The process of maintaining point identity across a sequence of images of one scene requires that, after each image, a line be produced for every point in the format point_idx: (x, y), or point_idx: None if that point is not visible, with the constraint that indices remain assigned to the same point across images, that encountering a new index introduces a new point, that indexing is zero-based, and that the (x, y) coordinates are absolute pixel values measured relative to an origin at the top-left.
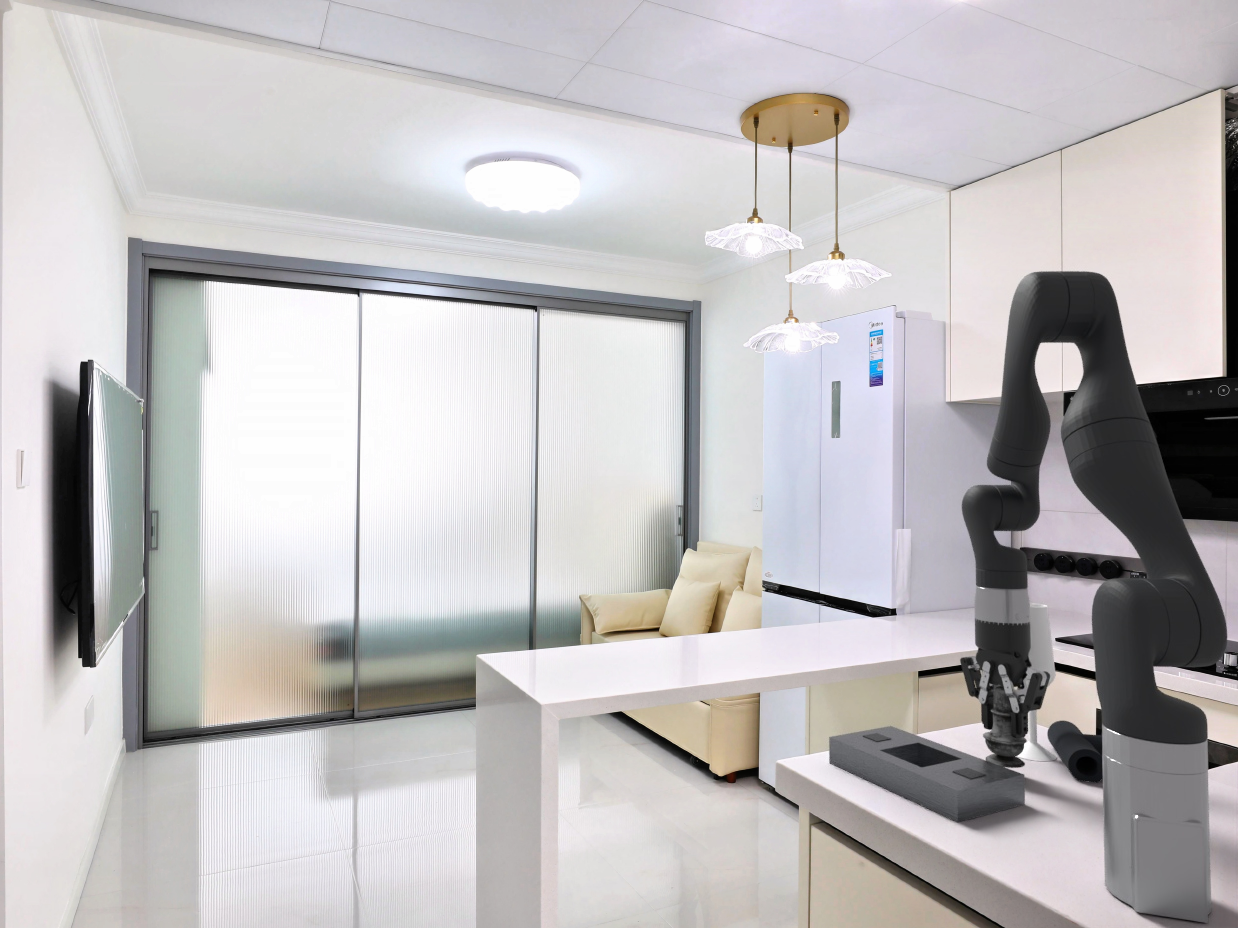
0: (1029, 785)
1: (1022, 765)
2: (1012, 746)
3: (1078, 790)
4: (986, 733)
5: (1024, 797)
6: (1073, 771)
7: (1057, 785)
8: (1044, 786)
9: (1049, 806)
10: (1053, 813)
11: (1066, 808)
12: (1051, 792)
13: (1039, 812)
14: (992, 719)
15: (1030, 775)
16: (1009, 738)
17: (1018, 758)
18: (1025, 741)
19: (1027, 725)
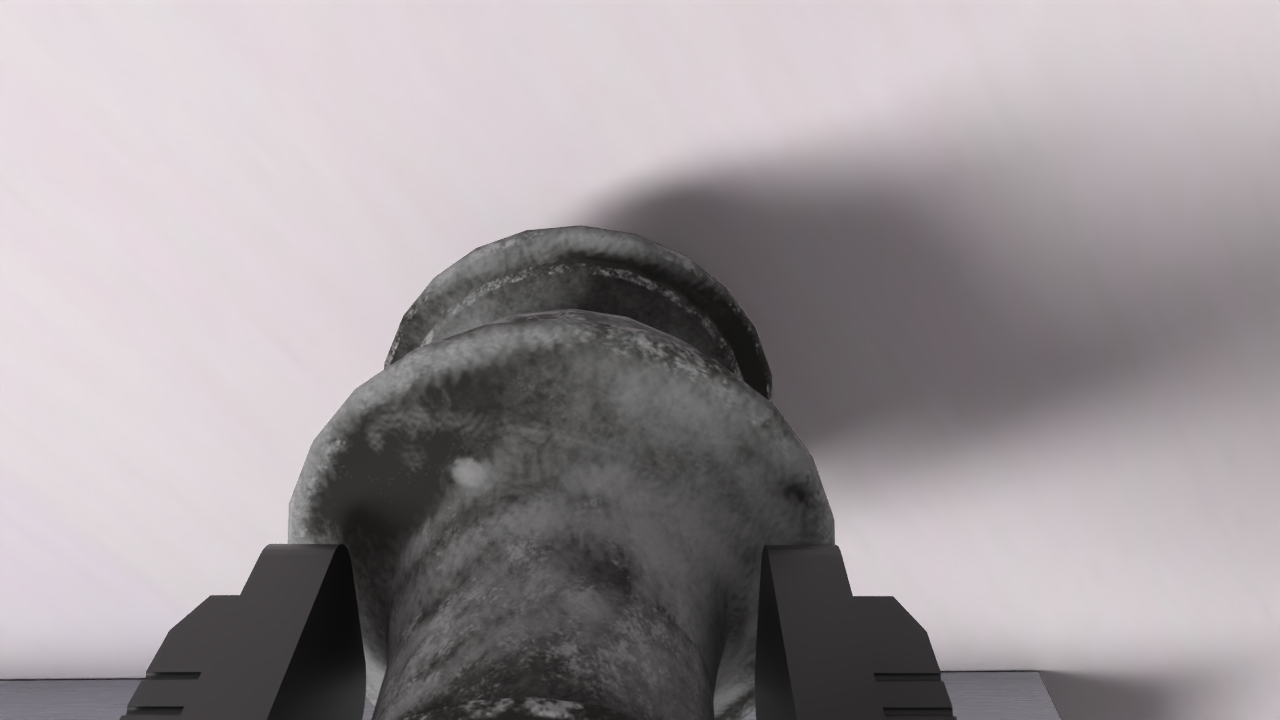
0: (837, 334)
1: (768, 385)
2: None
3: (1180, 27)
4: (366, 663)
5: (1053, 707)
6: None
7: (985, 95)
8: (927, 235)
9: (1169, 562)
10: (1244, 636)
11: (1273, 491)
12: (1041, 307)
13: (1171, 694)
14: (319, 712)
15: (676, 90)
16: (721, 685)
17: (644, 300)
18: (818, 490)
19: (949, 712)
